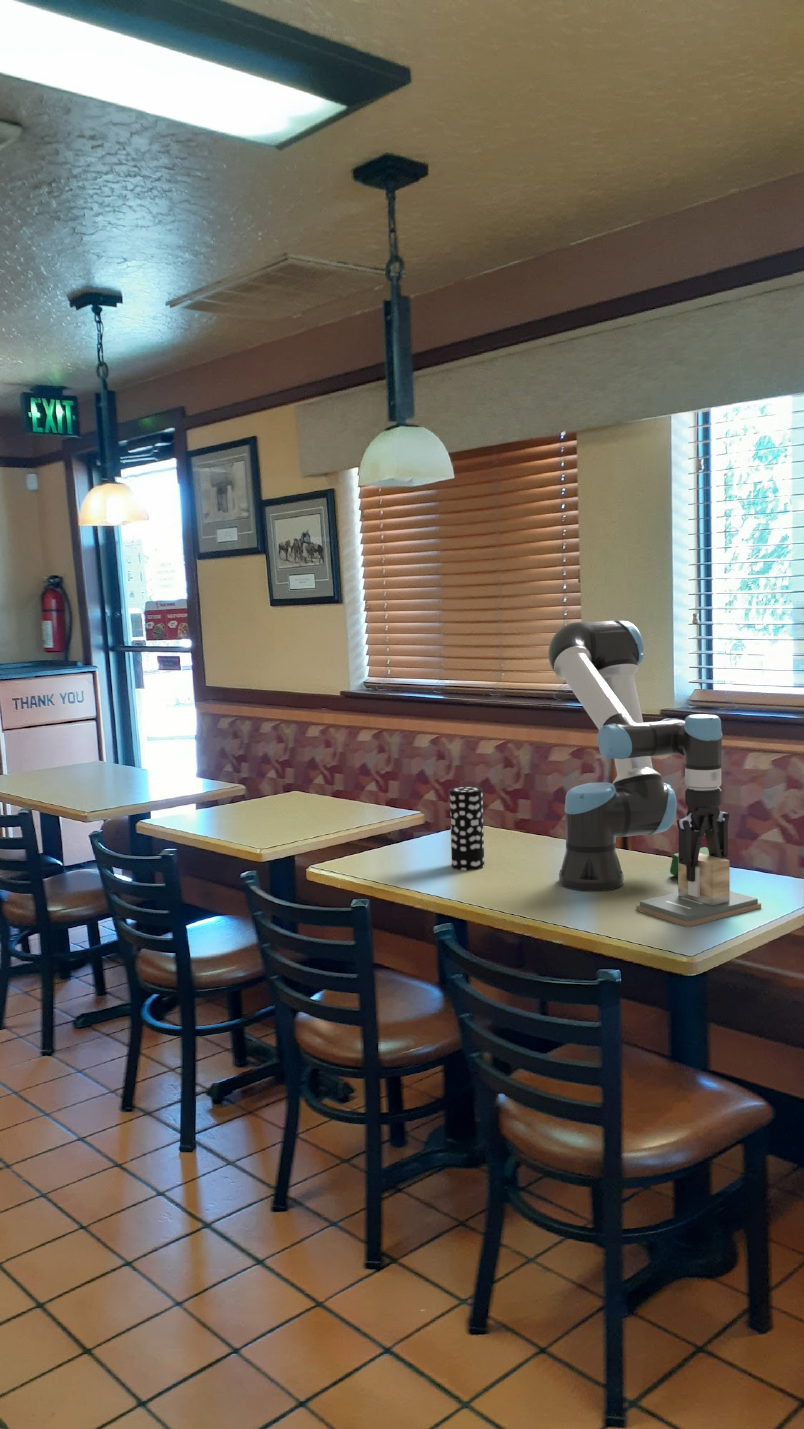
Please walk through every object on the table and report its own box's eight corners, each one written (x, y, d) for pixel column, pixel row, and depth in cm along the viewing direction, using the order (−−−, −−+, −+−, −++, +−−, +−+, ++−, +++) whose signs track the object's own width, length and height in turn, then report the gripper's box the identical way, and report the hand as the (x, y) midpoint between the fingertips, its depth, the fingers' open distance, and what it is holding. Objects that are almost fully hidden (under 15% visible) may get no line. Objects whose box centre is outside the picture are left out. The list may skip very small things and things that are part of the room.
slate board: (636, 910, 232) (636, 901, 232) (707, 892, 243) (707, 884, 243) (688, 927, 219) (688, 917, 219) (761, 907, 230) (761, 898, 230)
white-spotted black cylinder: (479, 871, 268) (477, 792, 266) (447, 869, 271) (445, 791, 269) (487, 863, 276) (486, 786, 274) (456, 861, 279) (454, 786, 277)
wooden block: (678, 895, 235) (678, 855, 234) (694, 891, 237) (694, 851, 236) (712, 905, 226) (712, 864, 225) (729, 901, 229) (729, 860, 228)
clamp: (690, 897, 255) (686, 868, 251) (672, 886, 260) (667, 857, 255) (725, 872, 260) (722, 843, 255) (706, 861, 264) (703, 832, 260)
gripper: (685, 794, 221) (685, 904, 224) (746, 784, 230) (746, 890, 233) (659, 789, 228) (660, 896, 230) (719, 780, 237) (719, 882, 239)
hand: (703, 893), depth 231 cm, fingers closed on wooden block, 5 cm apart
